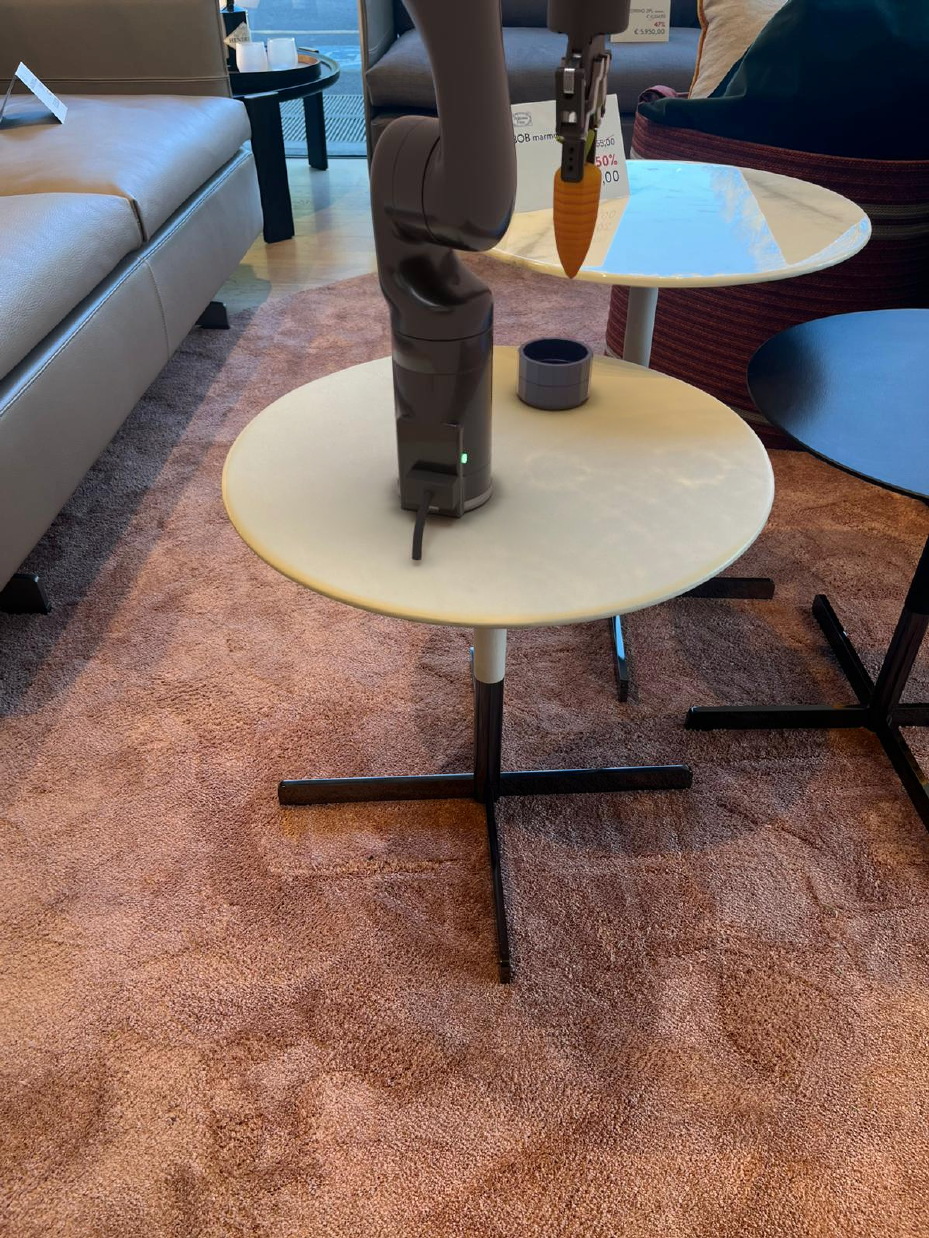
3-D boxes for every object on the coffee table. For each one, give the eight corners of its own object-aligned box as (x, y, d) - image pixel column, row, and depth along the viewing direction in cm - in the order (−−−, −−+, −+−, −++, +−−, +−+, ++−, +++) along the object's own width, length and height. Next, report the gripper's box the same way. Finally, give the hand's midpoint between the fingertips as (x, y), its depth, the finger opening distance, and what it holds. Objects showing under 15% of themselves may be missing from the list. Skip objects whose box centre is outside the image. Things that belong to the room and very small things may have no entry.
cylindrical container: (580, 415, 106) (584, 370, 102) (508, 405, 108) (509, 360, 105) (595, 385, 112) (599, 341, 109) (527, 376, 114) (529, 333, 111)
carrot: (578, 289, 97) (590, 130, 88) (539, 280, 99) (546, 124, 90) (602, 277, 100) (616, 122, 91) (564, 268, 102) (573, 116, 93)
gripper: (568, -36, 89) (558, 157, 99) (530, -26, 78) (522, 190, 89) (646, -35, 87) (627, 162, 98) (617, -24, 76) (599, 196, 87)
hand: (577, 174), depth 93 cm, fingers closed on carrot, 4 cm apart
